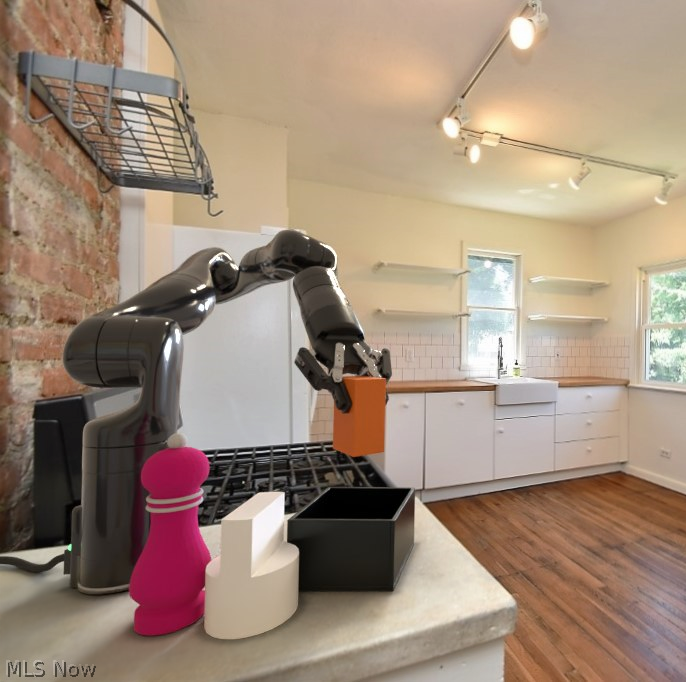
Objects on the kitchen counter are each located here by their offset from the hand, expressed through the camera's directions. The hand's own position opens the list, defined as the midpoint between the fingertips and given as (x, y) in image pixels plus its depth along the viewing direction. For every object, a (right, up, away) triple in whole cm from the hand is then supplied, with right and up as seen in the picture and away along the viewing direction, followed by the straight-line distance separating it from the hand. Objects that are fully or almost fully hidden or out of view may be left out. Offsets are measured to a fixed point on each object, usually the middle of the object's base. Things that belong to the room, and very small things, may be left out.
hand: (365, 407), depth 60 cm
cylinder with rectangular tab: (-9, -21, -11) cm, 26 cm away
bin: (-1, -22, +1) cm, 22 cm away
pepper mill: (-17, -21, -12) cm, 30 cm away
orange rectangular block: (-1, -6, +1) cm, 6 cm away
